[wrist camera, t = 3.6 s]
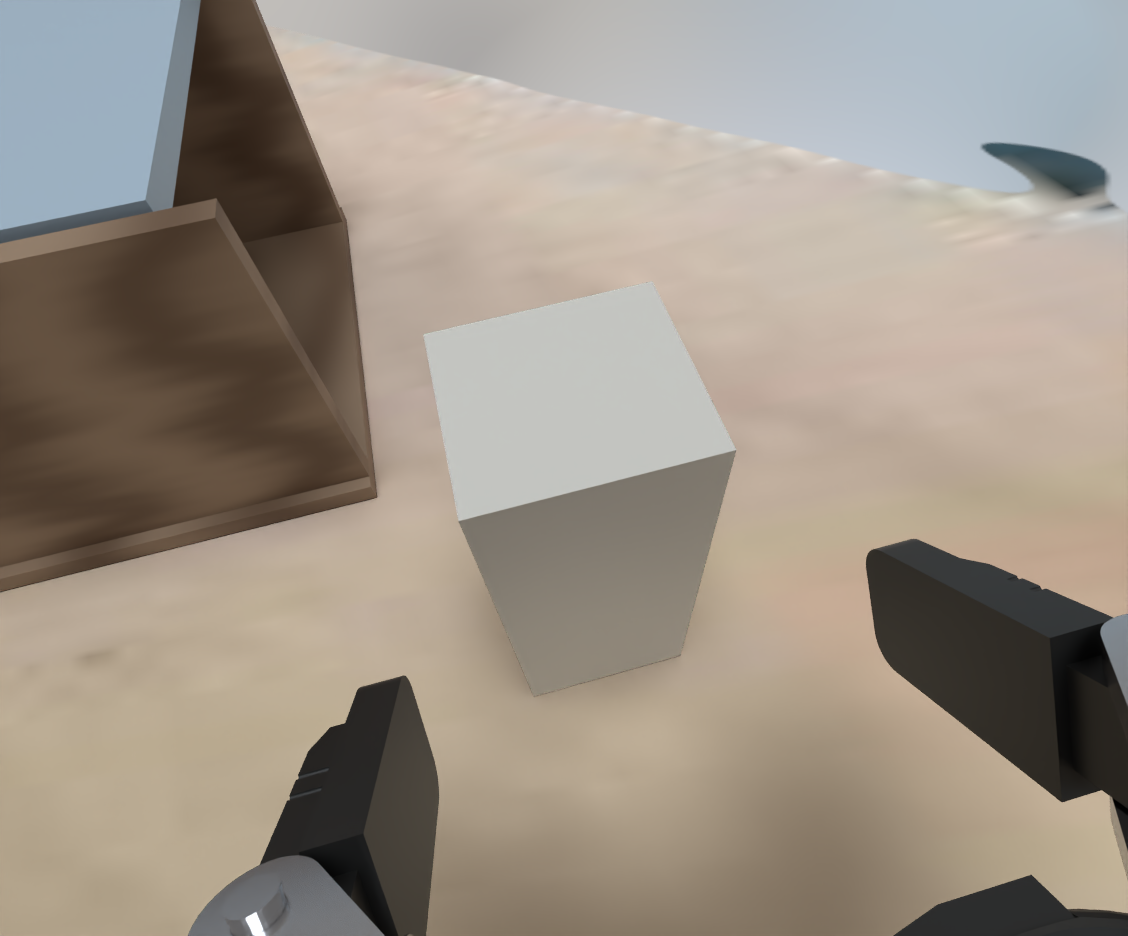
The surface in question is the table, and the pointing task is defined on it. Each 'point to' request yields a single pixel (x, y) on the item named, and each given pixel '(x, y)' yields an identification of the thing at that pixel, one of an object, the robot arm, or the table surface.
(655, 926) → the table surface
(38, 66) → the trapdoor
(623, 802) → the table surface
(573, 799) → the table surface
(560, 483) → the grey stone pillar
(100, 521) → the trapdoor stand
